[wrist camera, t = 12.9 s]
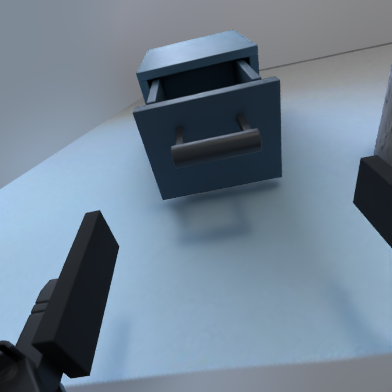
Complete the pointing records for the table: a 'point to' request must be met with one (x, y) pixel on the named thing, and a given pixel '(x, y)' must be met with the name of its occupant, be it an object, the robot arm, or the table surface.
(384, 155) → the pillar candle
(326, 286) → the table surface
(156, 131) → the drawer
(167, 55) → the dark blue box
